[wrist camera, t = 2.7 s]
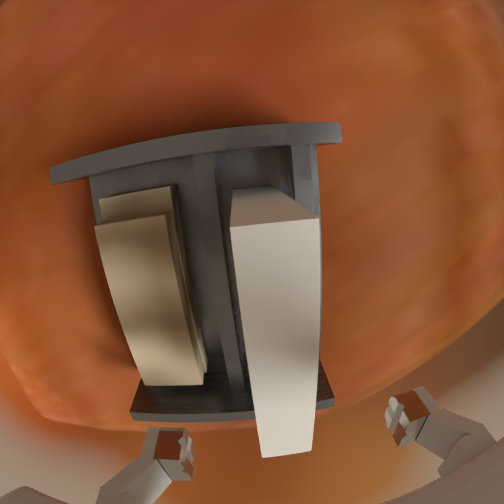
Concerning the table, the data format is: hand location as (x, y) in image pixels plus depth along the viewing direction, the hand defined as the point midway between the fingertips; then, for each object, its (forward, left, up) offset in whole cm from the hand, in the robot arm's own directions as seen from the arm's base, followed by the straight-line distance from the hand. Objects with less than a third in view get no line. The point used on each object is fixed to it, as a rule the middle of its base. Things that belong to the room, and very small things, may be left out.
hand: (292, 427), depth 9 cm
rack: (0, -4, -16) cm, 16 cm away
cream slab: (0, 0, -15) cm, 15 cm away
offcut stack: (0, -8, -15) cm, 17 cm away
